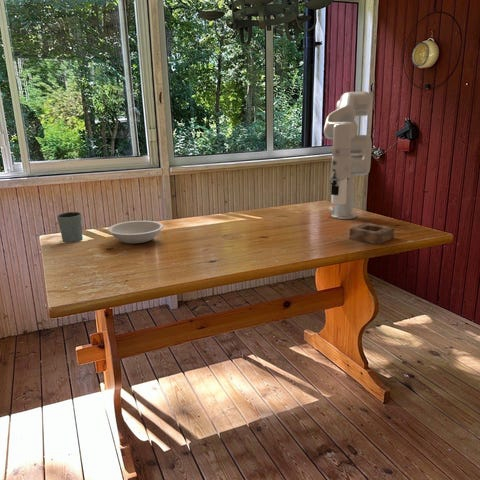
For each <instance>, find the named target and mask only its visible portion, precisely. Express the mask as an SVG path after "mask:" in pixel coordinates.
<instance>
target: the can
mask: <svg viewBox="0 0 480 480" xmlns="http://www.w3.org/2000/svg"><path fill="white" fill-rule="evenodd" d="M335 179H337V178H335ZM334 181H335V180H334ZM335 182H336V181H335ZM338 186H339V189H338V195H332V194H331V204H332V205H334V206H335V205H345V204H346V196H347V179H343V180H339V183H338Z"/></svg>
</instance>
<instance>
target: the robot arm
mask: <svg viewBox="0 0 480 480" xmlns="http://www.w3.org/2000/svg"><path fill="white" fill-rule="evenodd" d="M335 106H336V109H335V110H334V111H332V112H330V113H329V114H328V115H327V116H326V119H325V123H324V126H323V135H324V138H325V139H328V140H332V145H331V146H332V148H331V150H332V151H331V157H332V158H331V163H330V173H329V174H330V176H329V178H328V180H329V183H330V186H331V191H330V193H331V196H332V195H338V189H339V186H338V183H339V180H343V179H347V196H346V204H345V205H334V206H329V208H328V211H329V212H332V213H331V215H330V216H331V217H332V218H333V219H334V218H335V219H340V220H352V219H355V218H356V217H357V215H356V213H354V201H355V199H354V198H355V181H354V179H353V178H352V176H367V175H368V174H369V173H370V170H371V163H372V162H371V161H372V160H371V159H372V146H373V143H372V138H371V137H370V136H369V135H368V134H367V135H366V134H358V123H357V122H356V121H355V118H356V116H357V117H359V116H361V117H363V116H364V117H366V116H369V115H370V114H371V113H372V111H373V101H372V95H371V94H370V93H369V92H368V91H347V92H344V93H343V94H341V95H340V99H338V100H337V101H336V105H335ZM356 155H357V156H356ZM335 178H337V179H335ZM334 180H335V181H336V182H335V181H334Z"/></svg>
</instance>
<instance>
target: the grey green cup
mask: <svg viewBox="0 0 480 480" xmlns="http://www.w3.org/2000/svg"><path fill="white" fill-rule="evenodd" d="M56 218H57V222H58V226H59V229H60V231H59V232H60V235H61V241H62V242H63V243H65V244H73V243H79V242H81V241H83V224H82V212H79V211H68V212H67V211H66V212H62V213H59V214H58V215H56Z"/></svg>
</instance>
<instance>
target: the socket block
mask: <svg viewBox="0 0 480 480" xmlns="http://www.w3.org/2000/svg"><path fill="white" fill-rule="evenodd" d="M394 235H395V227H393V226H387V225H381V224H375V223H369V222H363V223H361V224H358V225H356V226H353V227H351V228H349V237H348V238H349V239H351V240H354V241H360V242H364V243H368V244H369V243H370V244H373V245H374V244H375V245H379V246H380V245H381V244H384V243H386V242H387V241H389V240H391V239H394V237H395V236H394Z"/></svg>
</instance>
